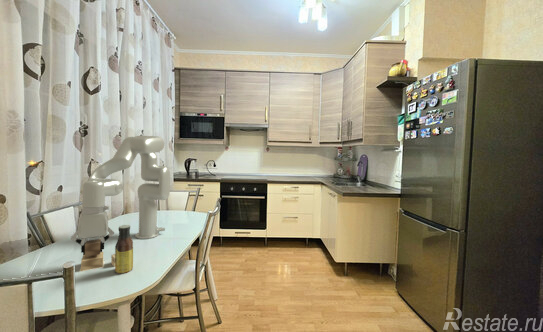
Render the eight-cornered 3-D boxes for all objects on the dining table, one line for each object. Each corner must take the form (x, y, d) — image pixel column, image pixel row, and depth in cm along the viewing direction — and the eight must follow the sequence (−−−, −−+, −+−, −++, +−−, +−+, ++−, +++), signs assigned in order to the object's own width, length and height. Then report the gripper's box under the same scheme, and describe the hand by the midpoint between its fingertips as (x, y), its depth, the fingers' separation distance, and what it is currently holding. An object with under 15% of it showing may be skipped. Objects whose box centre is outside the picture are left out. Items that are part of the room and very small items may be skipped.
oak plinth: (103, 260, 103) (103, 251, 103) (102, 267, 97) (102, 257, 97) (83, 263, 99) (83, 254, 99) (81, 271, 93) (81, 261, 93)
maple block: (121, 260, 104) (122, 252, 103) (124, 263, 101) (125, 255, 101) (111, 263, 101) (111, 254, 100) (114, 267, 98) (114, 257, 98)
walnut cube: (100, 249, 101) (100, 238, 101) (99, 254, 97) (100, 242, 97) (86, 252, 99) (86, 240, 98) (84, 256, 94) (84, 244, 94)
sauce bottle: (120, 269, 98) (121, 223, 97) (135, 269, 99) (136, 223, 98) (111, 277, 92) (112, 228, 91) (127, 277, 92) (128, 228, 91)
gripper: (117, 206, 105) (117, 245, 106) (68, 210, 96) (68, 253, 96) (117, 210, 99) (117, 251, 100) (65, 214, 89) (64, 260, 90)
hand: (93, 252), depth 98 cm, fingers closed on walnut cube, 5 cm apart
